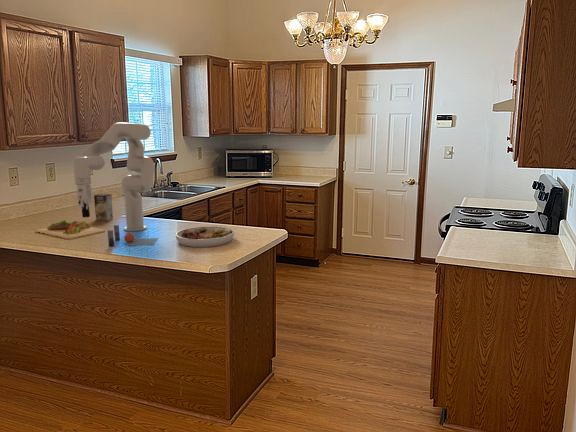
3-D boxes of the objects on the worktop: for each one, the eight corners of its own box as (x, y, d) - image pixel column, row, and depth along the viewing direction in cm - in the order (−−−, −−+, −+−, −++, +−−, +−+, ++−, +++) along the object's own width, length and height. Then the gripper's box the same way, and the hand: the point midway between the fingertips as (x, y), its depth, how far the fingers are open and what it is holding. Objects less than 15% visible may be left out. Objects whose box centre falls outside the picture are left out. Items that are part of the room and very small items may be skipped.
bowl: (196, 233, 278) (195, 219, 277) (244, 237, 267) (243, 223, 266) (164, 246, 251) (163, 231, 249) (216, 251, 240) (215, 235, 238)
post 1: (109, 245, 252) (108, 229, 251) (114, 245, 252) (113, 229, 251) (108, 246, 250) (106, 231, 248) (113, 246, 250) (112, 230, 248)
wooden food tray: (107, 232, 284) (105, 219, 282) (69, 241, 265) (68, 227, 263) (71, 225, 303) (70, 213, 302) (34, 233, 284) (32, 220, 283)
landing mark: (131, 239, 264) (131, 238, 264) (157, 238, 266) (157, 238, 265) (125, 245, 251) (125, 245, 251) (153, 245, 252) (153, 244, 252)
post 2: (115, 239, 264) (114, 224, 262) (120, 239, 264) (119, 224, 263) (114, 240, 261) (113, 225, 260) (119, 240, 262) (118, 225, 260)
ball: (133, 231, 259) (136, 240, 260) (124, 233, 259) (127, 242, 260) (131, 232, 254) (134, 242, 255) (121, 235, 254) (124, 244, 255)
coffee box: (95, 220, 316) (93, 195, 312) (101, 218, 322) (99, 193, 319) (107, 220, 313) (105, 195, 310) (113, 218, 319) (111, 194, 316)
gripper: (86, 183, 242) (89, 219, 246) (94, 179, 257) (98, 214, 261) (70, 183, 242) (73, 220, 245) (80, 179, 256) (83, 214, 260)
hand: (86, 216), depth 253 cm, fingers closed
